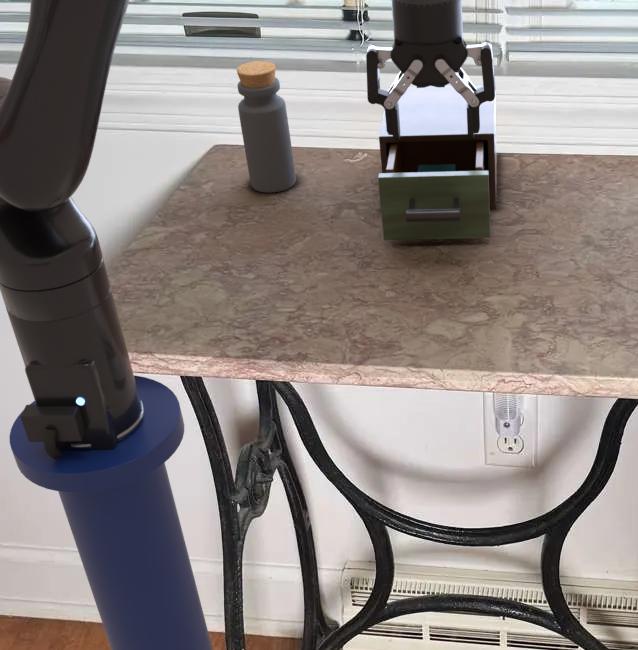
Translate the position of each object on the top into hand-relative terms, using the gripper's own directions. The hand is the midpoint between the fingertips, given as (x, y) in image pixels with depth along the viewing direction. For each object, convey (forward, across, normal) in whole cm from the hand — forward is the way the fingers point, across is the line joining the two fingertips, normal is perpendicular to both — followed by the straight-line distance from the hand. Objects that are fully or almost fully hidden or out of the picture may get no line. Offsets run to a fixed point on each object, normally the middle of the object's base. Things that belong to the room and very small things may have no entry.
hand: (434, 136), depth 136 cm
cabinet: (+11, 0, +11) cm, 15 cm away
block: (+9, 0, 0) cm, 9 cm away
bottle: (+11, -22, +12) cm, 27 cm away
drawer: (+10, 0, -1) cm, 10 cm away
